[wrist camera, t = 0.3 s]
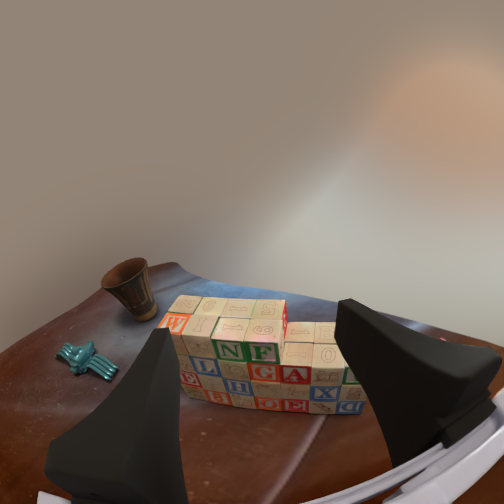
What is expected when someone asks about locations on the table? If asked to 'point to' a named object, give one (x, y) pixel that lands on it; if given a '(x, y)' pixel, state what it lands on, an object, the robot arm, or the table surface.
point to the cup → (132, 287)
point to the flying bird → (86, 360)
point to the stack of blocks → (260, 357)
